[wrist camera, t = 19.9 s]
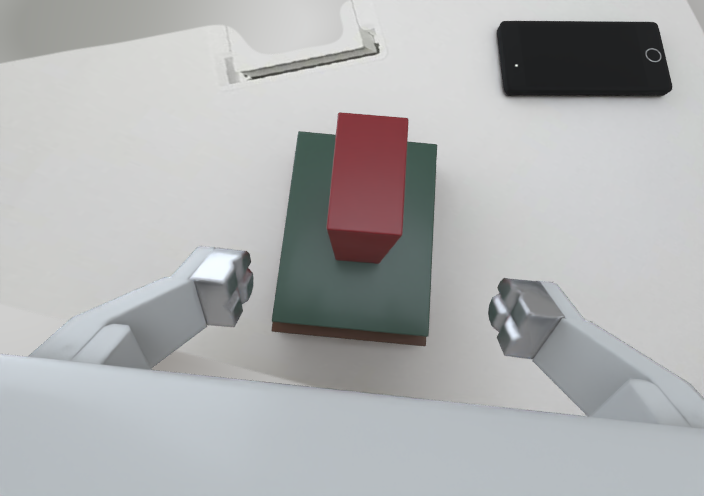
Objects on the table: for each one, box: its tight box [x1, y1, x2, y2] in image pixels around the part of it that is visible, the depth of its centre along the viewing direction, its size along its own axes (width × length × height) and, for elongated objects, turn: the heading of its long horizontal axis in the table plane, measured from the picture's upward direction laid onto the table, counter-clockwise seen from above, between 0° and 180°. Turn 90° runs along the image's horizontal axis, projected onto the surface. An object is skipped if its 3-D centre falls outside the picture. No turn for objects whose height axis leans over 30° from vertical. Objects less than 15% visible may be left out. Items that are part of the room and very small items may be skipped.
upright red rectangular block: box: [327, 113, 408, 264], centre depth 19 cm, size 6×4×10 cm, turn 175°
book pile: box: [272, 131, 437, 346], centre depth 26 cm, size 18×13×6 cm
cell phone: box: [497, 21, 672, 96], centre depth 33 cm, size 9×18×1 cm, turn 90°
